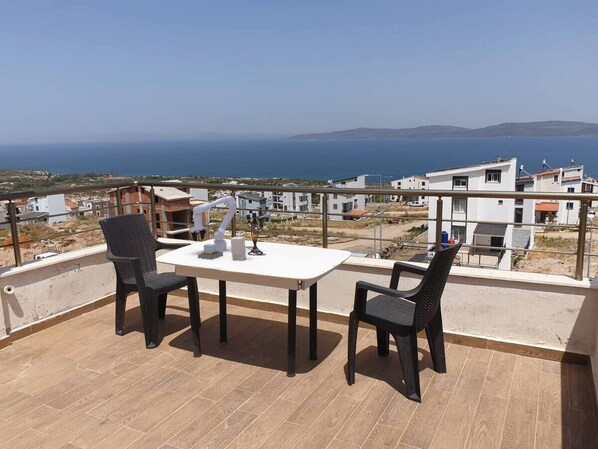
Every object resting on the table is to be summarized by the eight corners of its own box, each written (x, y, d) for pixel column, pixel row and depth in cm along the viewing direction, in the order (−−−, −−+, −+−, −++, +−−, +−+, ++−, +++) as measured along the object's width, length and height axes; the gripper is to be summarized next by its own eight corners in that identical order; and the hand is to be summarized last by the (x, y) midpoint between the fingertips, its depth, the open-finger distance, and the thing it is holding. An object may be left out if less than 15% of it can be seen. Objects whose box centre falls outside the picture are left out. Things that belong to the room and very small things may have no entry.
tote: (209, 255, 321) (209, 250, 321) (223, 256, 315) (222, 252, 315) (198, 259, 310) (197, 254, 310) (212, 260, 304) (211, 255, 304)
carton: (208, 250, 316) (208, 243, 315) (216, 251, 313) (215, 244, 312) (204, 251, 312) (203, 245, 311) (211, 252, 308) (211, 245, 308)
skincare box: (246, 258, 308) (245, 236, 306) (242, 260, 302) (241, 238, 299) (235, 257, 310) (234, 236, 308) (231, 260, 304) (230, 238, 302)
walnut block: (209, 255, 318) (209, 249, 317) (218, 256, 314) (218, 250, 314) (202, 257, 311) (202, 252, 310) (211, 258, 307) (211, 253, 307)
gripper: (200, 220, 331) (201, 238, 334) (187, 223, 319) (188, 241, 321) (207, 221, 328) (208, 239, 330) (194, 224, 315) (195, 242, 318)
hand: (198, 240), depth 325 cm, fingers open, 7 cm apart
